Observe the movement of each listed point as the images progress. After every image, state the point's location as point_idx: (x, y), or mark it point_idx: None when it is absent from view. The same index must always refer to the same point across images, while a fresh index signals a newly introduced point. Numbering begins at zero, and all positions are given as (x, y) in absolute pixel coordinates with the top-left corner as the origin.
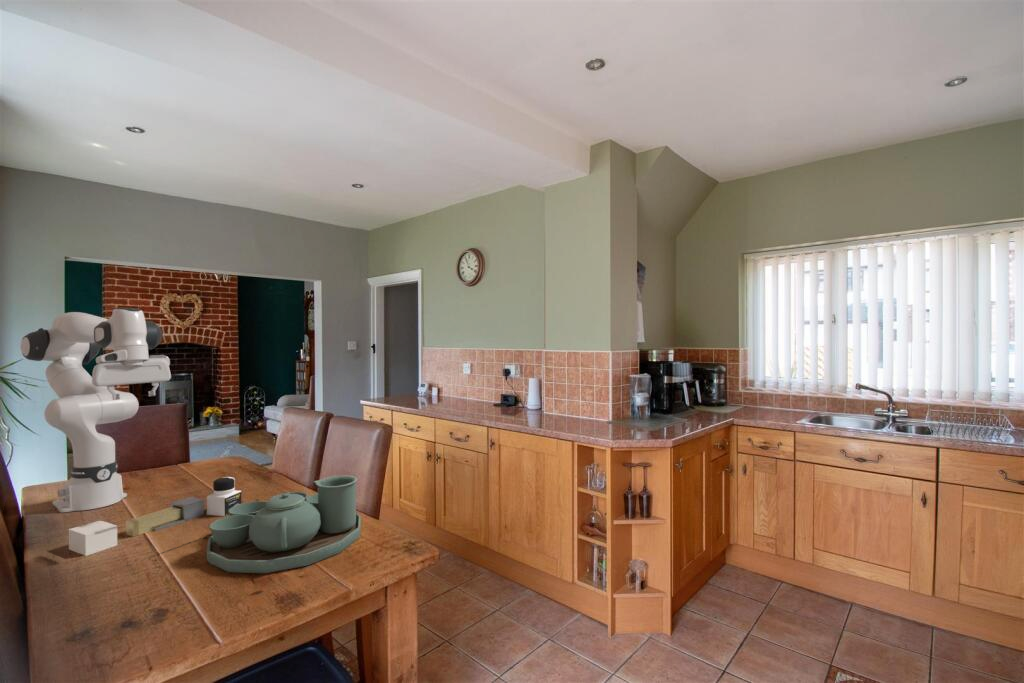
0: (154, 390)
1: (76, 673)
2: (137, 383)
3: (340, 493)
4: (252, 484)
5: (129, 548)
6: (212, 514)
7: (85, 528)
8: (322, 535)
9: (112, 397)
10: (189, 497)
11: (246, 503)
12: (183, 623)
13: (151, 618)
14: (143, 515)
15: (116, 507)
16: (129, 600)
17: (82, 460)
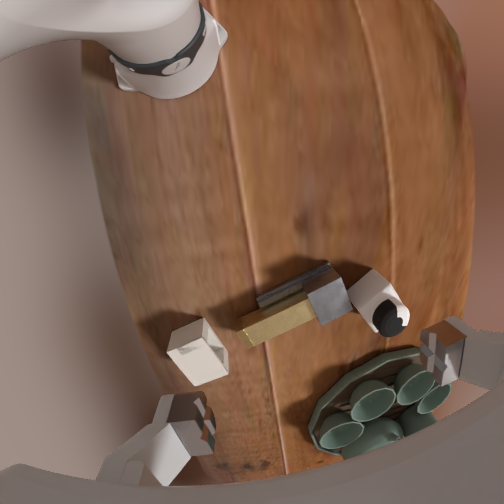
0: (466, 375)
1: (227, 483)
2: (417, 438)
3: None
4: (436, 134)
5: (241, 357)
6: (352, 303)
7: (188, 362)
8: (395, 421)
9: (158, 406)
10: (337, 282)
11: (378, 390)
12: (275, 473)
13: (259, 466)
14: (261, 322)
15: (209, 109)
16: (246, 448)
17: (118, 54)
